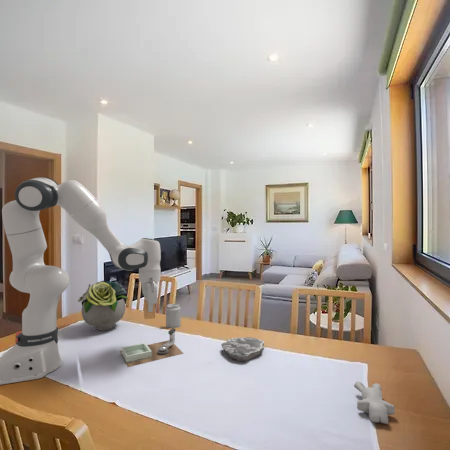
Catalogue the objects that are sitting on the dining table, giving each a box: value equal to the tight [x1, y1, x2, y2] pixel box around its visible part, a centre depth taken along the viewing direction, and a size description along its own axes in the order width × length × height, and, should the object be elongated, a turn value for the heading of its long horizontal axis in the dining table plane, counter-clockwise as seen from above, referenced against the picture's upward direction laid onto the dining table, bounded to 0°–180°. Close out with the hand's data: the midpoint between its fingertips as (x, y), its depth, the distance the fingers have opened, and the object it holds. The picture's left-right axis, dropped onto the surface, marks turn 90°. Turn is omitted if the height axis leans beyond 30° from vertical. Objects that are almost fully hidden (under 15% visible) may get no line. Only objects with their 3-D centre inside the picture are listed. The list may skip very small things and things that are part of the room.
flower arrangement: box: [77, 280, 130, 331], centre depth 153 cm, size 25×25×24 cm
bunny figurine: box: [353, 381, 396, 425], centre depth 85 cm, size 10×5×15 cm
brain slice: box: [220, 336, 265, 362], centre depth 123 cm, size 20×17×3 cm
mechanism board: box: [119, 339, 185, 368], centre depth 120 cm, size 22×16×2 cm
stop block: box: [143, 299, 156, 320], centre depth 123 cm, size 4×4×7 cm
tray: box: [121, 342, 152, 365], centre depth 117 cm, size 10×10×2 cm
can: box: [165, 303, 182, 329], centre depth 152 cm, size 8×8×12 cm
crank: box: [159, 328, 177, 352], centre depth 123 cm, size 11×3×6 cm, turn 161°
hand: (149, 309), depth 123 cm, fingers closed on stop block, 4 cm apart
